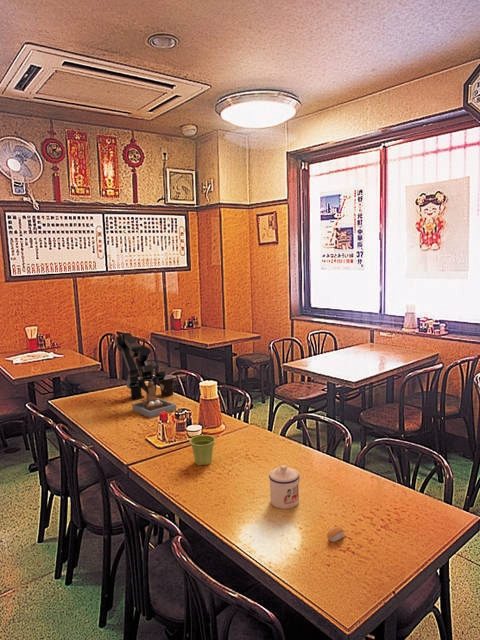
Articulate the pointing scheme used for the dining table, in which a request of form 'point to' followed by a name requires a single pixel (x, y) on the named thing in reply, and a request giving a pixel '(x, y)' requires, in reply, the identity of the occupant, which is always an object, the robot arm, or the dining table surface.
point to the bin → (142, 410)
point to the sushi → (335, 534)
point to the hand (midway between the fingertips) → (151, 392)
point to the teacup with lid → (284, 487)
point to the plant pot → (202, 449)
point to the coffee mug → (167, 385)
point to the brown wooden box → (152, 398)
